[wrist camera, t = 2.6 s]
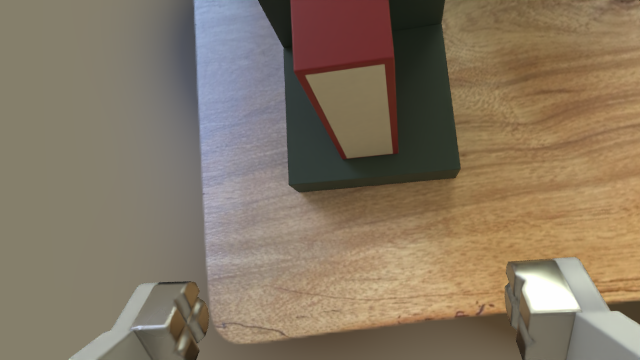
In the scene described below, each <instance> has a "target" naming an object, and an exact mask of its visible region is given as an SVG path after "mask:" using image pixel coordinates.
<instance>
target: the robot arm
mask: <svg viewBox="0 0 640 360" xmlns="http://www.w3.org/2000/svg"><path fill="white" fill-rule="evenodd" d="M506 275H507V278H508V281H509V283H508V284H507V285H506V286H505V305H506V311H507V315H508V318H509V321H510V324H511V326H512V327H514V328H515V329H516V330H517V338H516V342H517V345H518V348H519V350H520V354H521V356H522V359H523V360H640V325H639V324H638V323H636V322H635V321H633V320H632V319H630V318H628V317H627V316H625V315H624V314H622V313H620V312H619V311H610V309H609V307H608V306H607V304H606V302H605V301H604V299H603V297H602V296H601V294H600V293H599V291H598V289H597V288H596V286H595V284H594V283H593V281H592V279H591V278H590V276H589V274H588V273H587V271H586V269H585V268H584V266H583V264H582V263H581V261H580V260H579V259H578V258H576V257H567V258H553V259H539V260H525V261H511V262H508V263H507V266H506ZM198 294H199V288H198V286H197V285H196V283H195V282H191V281H189V282H159V283H143V284H141V285H139V286H138V287H137V288H136V290H135V292H134V293H133V295H132V297H131V298H130V300H129V302H128V303H127V305H126V306H125V308H124V310H123V311H122V313H121V314H120V316H119V318H118V319H117V321H116V323H115V324H114V326H113V328H112V329H111V331H109V332H104V333H103V334H101V335H100V336H99V337H97V338H96V339H95V340H93V341H92V342H91V343H89V344H88V345H87V346H85V347H84V348H83V349H81V350H80V351H79V352H77V353H76V354H75V355H74V356H72V357H71V358H70V359H68V360H196V359H197V356H198V353H199V348H198V345H197V343H198V342H199V341H200V340H202V339H203V338H204V337H205V335H206V332H207V329H208V324H209V312H208V308H207V306H206V303H205V302H204V301H203V300H201V299H200V298H198V297H197V296H198Z"/></svg>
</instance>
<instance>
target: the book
mask: <svg viewBox="0 0 640 360" xmlns="http://www.w3.org/2000/svg"><path fill="white" fill-rule="evenodd" d="M290 4H291V26H292V48H293V69H294V73H295V75H296V76H297V78H298V80H299V82H300V84H301V86H302V87H303V89H304V91H305V93H306V95H307V96H308V98H309V100H310V102H311V104H312V105H313V107H314V109H315V111H316V113H317V114H318V116H319V118H320V120H321V122H322V123H323V125H324V127H325V129H326V131H327V132H328V134H329V136H330V138H331V140H332V142H333V143H334V145H335V147H336V149H337V151H338V152H339V154H340V156H341V158H342V159H351V158H361V157H370V156H380V155H389V154H398V153H399V150H398V127H397V105H396V82H395V60H394V48H393V38H392V29H391V19H390V9H389V0H290Z"/></svg>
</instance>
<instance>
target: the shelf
mask: <svg viewBox="0 0 640 360" xmlns="http://www.w3.org/2000/svg"><path fill="white" fill-rule="evenodd" d="M258 1H259V3H260V5H261V7H262V9H263V10H264V12H265V14H266V16H267V18H268V20H269V21H270V23H271V25H272V27H273V29H274V31H275V33H276V34H277V36H278V38H279V40H280V42H281V44H282V46H283V47H284V74H285V99H286V123H287V148H288V173H289V185H290V186H291V187H292V188H294V189H295V190H296V191H298V192H309V191H320V190H331V189H342V188H353V187H363V186H374V185H385V184H396V183H407V182H418V181H429V180H440V179H450V178H456V176H457V174H458V172H459V170H460V168H461V167H460V160H459V152H458V145H457V137H456V129H455V122H454V114H453V107H452V99H451V91H450V84H449V76H448V69H447V61H446V53H445V46H444V38H443V31H442V24H441V23H442V16H443V10H444V3H445V0H389V9H390V19H391V29H392V38H393V48H394V60H395V82H396V105H397V127H398V150H399V153H398V154H389V155H380V156H370V157H361V158H351V159H342V158H341V156H340V154H339V152H338V151H337V149H336V147H335V145H334V143H333V142H332V140H331V138H330V136H329V134H328V132H327V131H326V129H325V127H324V125H323V123H322V122H321V120H320V118H319V116H318V114H317V113H316V111H315V109H314V107H313V105H312V104H311V102H310V100H309V98H308V96H307V95H306V93H305V91H304V89H303V87H302V86H301V84H300V82H299V80H298V78H297V76H296V75H295V73H294V69H293V48H292V26H291V4H290V0H258Z"/></svg>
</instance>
